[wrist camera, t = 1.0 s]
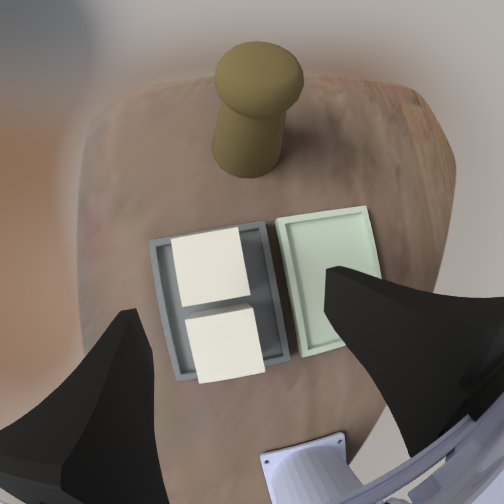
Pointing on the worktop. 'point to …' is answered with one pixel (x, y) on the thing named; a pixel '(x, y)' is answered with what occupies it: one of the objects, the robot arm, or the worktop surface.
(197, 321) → the stone block
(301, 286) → the tray
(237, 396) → the worktop surface
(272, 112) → the cork
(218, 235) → the stone block
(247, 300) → the tray
